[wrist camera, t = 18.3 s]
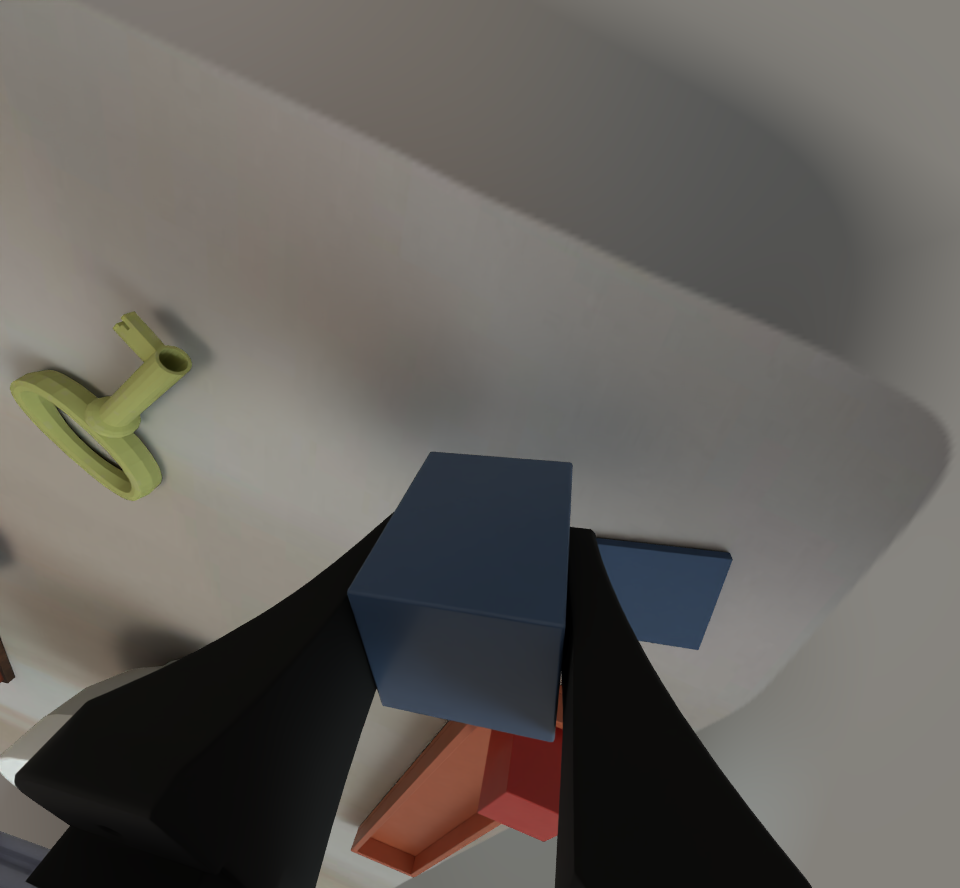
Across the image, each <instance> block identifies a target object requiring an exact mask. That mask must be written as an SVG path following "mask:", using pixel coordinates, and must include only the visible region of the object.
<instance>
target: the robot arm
mask: <svg viewBox="0 0 960 888" xmlns="http://www.w3.org/2000/svg"><path fill="white" fill-rule="evenodd" d="M393 513H394V512H393ZM393 513H392V514H391V515H390V516H389V517H387V518H386V519H385V520H384V521H383V522H382V523H380V524H379V525H378V526H377V527H376V528H375V529H374V530H372V531H371V532H370V533H369V534H368V535H367V536H365V537H364V538H363V539H362V540H361V541H360V542H358V543H357V544H356V545H355V546H354V547H352V548H351V549H350V550H349V551H348V552H346V553H345V554H344V555H343V556H342V557H340V558H339V559H338V560H337V561H336V562H334V563H333V564H332V565H330V566H329V567H328V568H327V569H325V570H324V571H323V572H321V573H320V574H319V575H317V576H316V577H315V578H313V579H312V580H311V581H310V582H308V583H307V584H306V585H304V586H303V587H301V588H300V589H299V590H297V591H296V592H294V593H293V594H291V595H290V596H288V597H287V598H285V599H284V600H282V601H281V602H279V603H278V604H276V605H275V606H273V607H272V608H270V609H269V610H267V611H265V612H264V613H262V614H261V615H259V616H257V617H256V618H254V619H252V620H250V621H249V622H247V623H245V624H244V625H242V626H240V627H238V628H237V629H235V630H233V631H232V632H230V633H228V634H226V635H225V636H223V637H221V638H219V639H218V640H216V641H214V642H212V643H210V644H208V645H206V646H205V647H203V648H201V649H199V650H197V651H195V652H193V653H191V654H189V655H187V656H185V657H183V658H181V659H179V660H177V661H175V662H173V663H171V664H169V665H167V666H165V667H163V668H161V669H159V670H156V671H154V672H152V673H150V674H148V675H146V676H143V677H141V678H139V679H136V680H134V681H132V682H130V683H127V684H125V685H123V686H121V687H118V688H116V689H114V690H112V691H109V692H107V693H105V694H103V695H100V696H98V697H95V698H93V699H91V700H88V701H87V702H86V703H85V704H84V705H83V706H82V707H81V708H80V709H79V710H78V711H77V712H76V713H75V714H74V715H73V716H72V717H71V718H70V719H69V720H68V721H67V722H66V723H65V724H64V725H63V726H62V727H61V728H60V729H59V730H58V731H57V732H56V733H55V734H54V735H53V736H52V737H51V738H50V739H49V740H48V741H47V742H46V743H45V744H44V745H43V746H42V747H41V748H40V749H39V751H38V752H37V753H36V754H35V755H34V756H33V757H32V758H31V759H30V760H29V761H28V762H27V763H26V764H25V765H24V766H23V767H22V768H21V769H20V770H19V771H18V772H17V773H16V774H15V780H14V782H15V786H16V787H17V788H18V789H19V790H20V791H21V792H22V793H24V794H25V795H26V796H28V797H29V798H31V799H32V800H33V801H35V802H36V803H38V804H39V805H41V806H42V807H43V808H45V809H46V810H48V811H50V812H51V813H53V814H54V815H55V816H57V817H58V818H60V819H61V820H63V821H64V822H66V823H67V824H68V825H70V827H69V828H68V829H67V830H66V832H65V833H64V834H63V836H62V837H61V838H60V839H59V840H58V841H57V843H56V844H55V845H54V846H53V848H52V849H48V848H45V847H43V846H40V845H37V844H34V843H32V842H28V841H26V840H23V839H20V838H18V837H15V836H12V835H9V834H7V833H4V832H1V831H0V888H315V887H316V883H317V879H318V876H319V872H320V869H321V865H322V861H323V858H324V854H325V851H326V847H327V843H328V840H329V836H330V833H331V829H332V825H333V822H334V819H335V815H336V812H337V809H338V805H339V802H340V799H341V795H342V792H343V789H344V785H345V782H346V779H347V775H348V772H349V769H350V766H351V763H352V760H353V757H354V754H355V751H356V747H357V744H358V741H359V738H360V735H361V732H362V729H363V726H364V723H365V720H366V717H367V715H368V712H369V709H370V706H371V703H372V700H373V697H374V694H375V691H376V689H377V687H376V684H375V680H374V677H373V674H372V671H371V668H370V665H369V661H368V658H367V655H366V652H365V649H364V646H363V643H362V639H361V636H360V633H359V630H358V627H357V624H356V620H355V617H354V614H353V611H352V608H351V605H350V601H349V598H348V595H347V591H348V589H349V587H350V585H351V584H352V582H353V580H354V579H355V577H356V575H357V574H358V572H359V570H360V569H361V567H362V565H363V564H364V562H365V560H366V559H367V557H368V555H369V554H370V552H371V550H372V549H373V547H374V545H375V544H376V542H377V540H378V539H379V537H380V535H381V534H382V532H383V530H384V529H385V527H386V525H387V523H388V522H389V520H390V518H391V517H392V515H393ZM561 674H562V704H563V735H562V756H561V777H560V797H559V818H558V839H557V858H556V878H555V888H812V887H811V885H810V883H809V882H808V881H807V879H806V878H805V877H804V876H803V874H802V873H801V872H800V871H799V869H798V868H797V867H796V866H795V865H794V863H793V862H792V861H791V860H790V858H789V857H788V856H787V855H786V853H785V852H784V851H783V850H782V849H781V847H780V846H779V845H778V844H777V842H776V841H775V840H774V839H773V837H772V836H771V835H770V834H769V832H768V831H767V830H766V828H765V827H764V826H763V825H762V824H761V822H760V821H759V820H758V818H757V817H756V816H755V814H754V813H753V812H752V811H751V809H750V808H749V807H748V805H747V804H746V803H745V801H744V800H743V799H742V797H741V796H740V795H739V793H738V792H737V791H736V789H735V788H734V787H733V785H732V784H731V783H730V782H729V780H728V779H727V777H726V776H725V775H724V773H723V772H722V771H721V769H720V768H719V767H718V765H717V764H716V762H715V761H714V760H713V758H712V757H711V755H710V754H709V752H708V751H707V749H706V748H705V747H704V745H703V744H702V742H701V741H700V739H699V738H698V736H697V735H696V734H695V732H694V731H693V729H692V728H691V726H690V725H689V723H688V722H687V721H686V719H685V718H684V716H683V715H682V713H681V712H680V710H679V709H678V707H677V706H676V704H675V702H674V701H673V699H672V698H671V696H670V694H669V693H668V691H667V690H666V688H665V686H664V685H663V683H662V682H661V680H660V678H659V676H658V675H657V673H656V671H655V670H654V668H653V666H652V665H651V663H650V661H649V659H648V658H647V656H646V654H645V652H644V650H643V649H642V647H641V645H640V643H639V641H638V639H637V637H636V635H635V633H634V631H633V630H632V628H631V626H630V624H629V622H628V620H627V618H626V615H625V613H624V611H623V609H622V607H621V605H620V602H619V600H618V598H617V596H616V593H615V591H614V589H613V586H612V584H611V582H610V579H609V577H608V574H607V571H606V569H605V566H604V563H603V560H602V557H601V554H600V551H599V548H598V544H597V540H596V535H595V533H594V532H593V531H592V530H591V529H583V528H574V527H570V536H569V559H568V582H567V604H566V627H565V637H564V647H563V658H562V668H561Z"/></svg>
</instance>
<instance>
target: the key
mask: <svg viewBox="0 0 960 888" xmlns="http://www.w3.org/2000/svg"><path fill="white" fill-rule="evenodd" d="M121 319H122V320H123V321H122V322H119V323H116V325H115V326H114V327H113V328H112V329H113V330H114V331H115V332H116V333H117V334H118V335H119V336H120V337H121V338H122V339H123V340H124V341H125V342H126V343H127V345H128V346H129V347H130V348H131V349H132V350H133V351H134V352H135V353H136V354H137V355H138V356H139V357H140V358H141V360H142V361H143V362H144V363H143V364H142V365H141V366H140V367H139V368H138V369H137V371H136V372H135V373H134V374H133V375H132V376H131V377H130V378H129V379H128V380H127V381H126V382H125V383H124V384H123V385H122V386H121V387H120V388H119V389H118V390H117V391H116V392H115V393H114V394H113V395H112V396H106V397H101V398H97V397H96V396H95V395H94V394H92V393H91V392H90V391H88V390H87V389H86V388H84V387H83V386H82V385H80V384H79V383H77V382H76V381H74V380H72V379H71V378H69V377H67V376H66V375H64V374H62V373H59V372H57V371H53V370H44V371H39V372H33V373H28V374H26V375H24V376H22V377H20V378H18V379H17V380H15V381H13V382H12V383H11V386H10V390H11V393H12V396H13V397H14V399H15V401H16V402H17V404H18V405H19V406H20V407H21V409H22V410H23V411H24V412H25V413H26V415H27V416H28V417H29V418H30V419H31V420H32V421H33V423H34V424H35V425H36V426H37V427H38V428H39V429H40V430H41V431H42V432H43V433H44V434H45V435H46V436H47V437H48V438H49V439H51V440H52V441H53V442H54V443H55V444H56V445H57V446H58V447H59V448H60V449H61V450H62V451H63V452H64V453H66V454H67V455H68V456H69V457H70V458H71V459H72V460H73V461H75V462H76V463H77V464H78V465H79V466H80V467H82V468H83V469H84V470H85V471H86V472H87V473H89V474H90V475H91V476H92V477H93V478H94V479H96V480H97V481H98V482H100V483H101V484H102V485H104V486H105V487H106V488H108V489H109V490H111V491H112V492H114V493H115V494H117V495H119V496H120V497H122V498H125V499H127V500H131V501H135V500H138V499H140V498H142V497H144V496H146V495H148V494H150V493H151V492H152V491H153V490H154V489H155V488H156V487H157V486H158V485H159V484H160V483H161V480H162V476H161V472H160V469H159V466H158V465H157V463H156V461H155V460H154V458H153V456H152V455H151V453H150V452H149V451H148V449H147V448H146V447H145V445H144V444H143V443H142V442H141V440H140V439H139V438H138V437H137V436H136V435H135V434H134V433H133V432H134V431H136V430H137V429H138V427H139V424H140V422H141V418H140V414H141V413H142V412H143V411H144V410H145V409H146V408H148V407H149V406H150V405H151V404H152V403H153V402H154V401H156V400H157V399H158V398H159V397H160V396H161V395H162V394H164V393H165V392H166V391H167V390H168V389H169V388H170V387H172V386H173V385H174V384H175V383H176V382H177V381H178V380H180V379H181V378H182V377H183V376H184V375H185V374H186V373H188V372H189V371H190V369H191V367H192V363H191V359H190V358H189V356H188V354H186V353H185V352H184V351H183V350H181V349H179V348H177V347H175V346H169V345H167V346H165V345H164V344H163V343H162V342H161V341H160V339H159V338H158V337H157V336H156V335H155V334H154V333H153V332H152V331H151V329H150V328H149V327H148V326H147V325H146V324H145V323H144V322H143V321H142V319H141V318H140V317H139V316H138V315H137V314H136V313H135V312H131V313H127V314H124V315H123V316H122V317H121ZM55 406H57V407H58V408H59V409H61V410H62V411H63V412H65V413H66V414H67V415H68V416H69V417H71V418H72V419H73V420H74V421H75V422H77V423H78V424H79V425H80V426H81V427H82V428H83V429H84V430H86V431H87V432H88V433H89V434H90V435H91V436H92V437H93V438H94V439H95V440H96V441H97V442H98V443H99V444H100V445H101V446H102V447H103V448H104V449H105V450H106V451H107V452H108V453H109V454H110V455H111V456H112V457H113V459H114V460H115V461H116V462H117V463H118V465H119V466H120V467H121V468H122V470H123V471H124V472H123V471H121V470H120V469H118V468H116V467H115V466H113V465H111V464H110V463H108V462H107V461H105V460H104V459H103V458H101V457H100V456H99V455H97V454H96V453H95V452H94V451H93V450H91V449H90V448H89V447H88V446H87V445H86V444H85V443H84V442H83V441H82V440H81V439H80V438H79V437H78V436H77V435H76V434H75V433H74V432H73V431H72V430H71V428H70V427H69V426H68V425H67V423H66V422H65V421H64V419H63V418H62V416H61V415H60V413H59V412H58V410H57V409H56V407H55Z"/></svg>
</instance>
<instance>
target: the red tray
mask: <svg viewBox="0 0 960 888" xmlns="http://www.w3.org/2000/svg"><path fill="white" fill-rule="evenodd" d="M556 727H558V728H561V729H563V704H562V686H561V685H560V689H559V699H558V709H557V720H556ZM490 734H491V729H488V728H483V727H479V726H474V725H469V724H465V723H460V722H456V721H451V720H449V722H448V723H447V724H446V725H445V726H444V728H443V729H442V730H441V731H440V732H439V733H438V735H437V736H436V737H435V738H434V739H433V741H432V742H431V743H430V744H429V745H428V746H427V748H426V749H425V750H424V751H423V752H422V754H421V755H420V756H419V757H418V758H417V759H416V761H415V762H414V763H413V764H412V765H411V766H410V768H409V769H408V770H407V771H406V772H405V774H404V775H403V776H402V777H401V778H400V779H399V781H398V782H397V783H396V784H395V785H394V787H393V788H392V789H391V790H390V791H389V792H388V794H387V795H386V796H385V797H384V798H383V800H382V801H381V802H380V803H379V804H378V805H377V807H376V808H375V809H374V810H373V811H372V813H371V814H370V815H369V816H368V817H367V818H366V820H365V821H364V822H363V823H362V824H361V825H360V827H359V828H358V831H357V834H356V837H355V839H354V842H353V845H352V848H351V851H352V852H355V853H357V854H359V855H362V856H364V857H367V858H369V859H371V860H374V861H376V862H378V863H381V864H383V865H385V866H388V867H390V868H392V869H395V870H397V871H399V872H402V873H404V874H406V875H409V876H411V877H413V878H414V877H416V876H417V875H419V874H421V873H422V872H424V871H425V870H427V869H429V868H430V867H432V866H434V865H435V864H437V863H438V862H440V861H442V860H443V859H445V858H447V857H448V856H450V855H451V854H453V853H455V852H456V851H458V850H460V849H461V848H463V847H464V846H466V845H468V844H469V843H471V842H473V841H474V840H476V839H478V838H479V837H481V836H482V835H484V834H486V833H487V832H489V831H491V830H492V829H494V828H495V827H497V826H499V825H500V824H502V823H499V822H497V821H495V820H492V819H490V818H488V817H485V816H483V815H481V814H478V813H477V811H478V805H479V799H480V793H481V787H482V781H483V775H484V770H485V764H486V758H487V752H488V746H489V740H490Z"/></svg>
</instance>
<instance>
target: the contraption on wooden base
mask: <svg viewBox="0 0 960 888" xmlns="http://www.w3.org/2000/svg"><path fill="white" fill-rule="evenodd" d="M13 678H15V676H14V673H13V671H12V668H11V666H10V663H9V660H8V658H7V655H6V653H5V650H4V647H3V645H2V642H1V640H0V683H1V682H4V683H9V682H10V681H11V680H12V679H13Z"/></svg>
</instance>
